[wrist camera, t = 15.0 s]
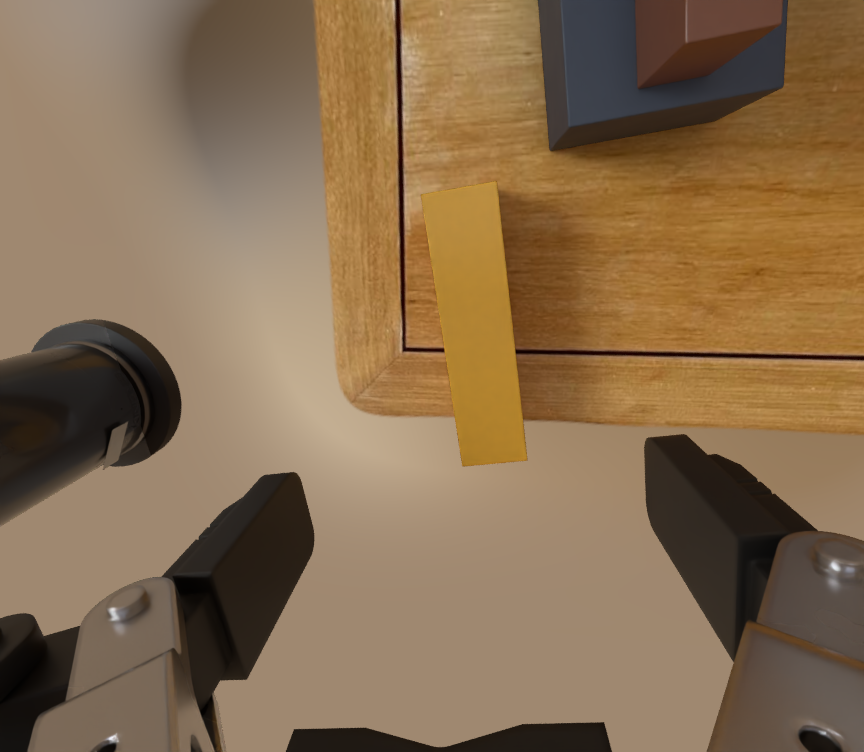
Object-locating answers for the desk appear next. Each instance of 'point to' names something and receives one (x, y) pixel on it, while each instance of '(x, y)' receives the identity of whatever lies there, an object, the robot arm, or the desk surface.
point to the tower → (655, 63)
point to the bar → (476, 321)
